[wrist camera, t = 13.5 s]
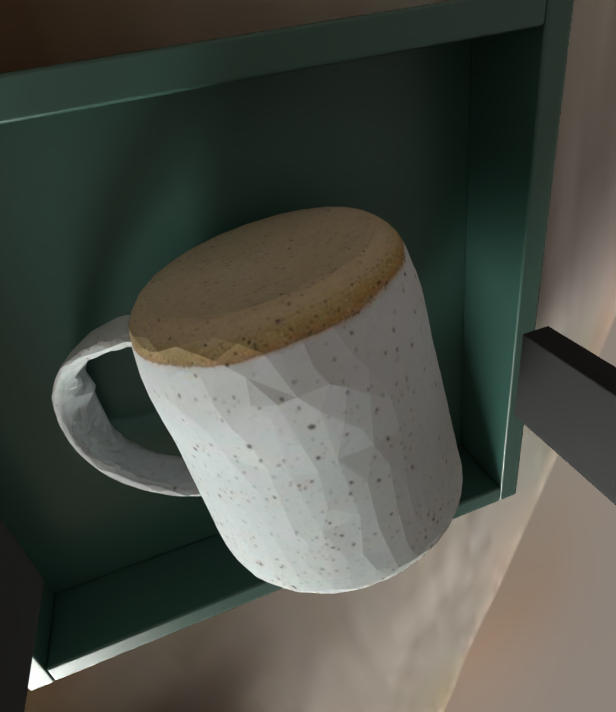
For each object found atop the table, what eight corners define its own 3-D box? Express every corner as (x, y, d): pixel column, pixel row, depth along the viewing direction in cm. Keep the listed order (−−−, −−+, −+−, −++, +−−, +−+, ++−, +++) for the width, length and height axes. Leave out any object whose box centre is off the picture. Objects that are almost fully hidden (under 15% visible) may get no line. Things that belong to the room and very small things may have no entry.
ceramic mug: (337, 169, 15) (496, 243, 9) (390, 376, 19) (519, 524, 13) (-6, 308, 14) (-117, 511, 7) (135, 493, 18) (141, 716, 12)
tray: (479, -1, 15) (578, -21, 12) (464, 439, 24) (516, 494, 21) (-301, 127, 11) (-469, 149, 8) (43, 595, 20) (30, 692, 17)
